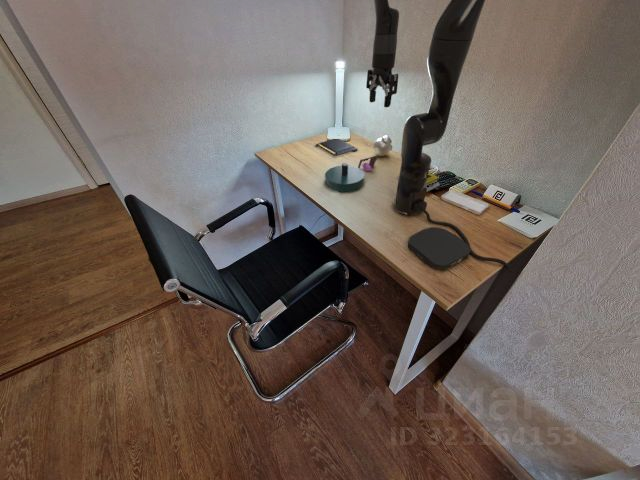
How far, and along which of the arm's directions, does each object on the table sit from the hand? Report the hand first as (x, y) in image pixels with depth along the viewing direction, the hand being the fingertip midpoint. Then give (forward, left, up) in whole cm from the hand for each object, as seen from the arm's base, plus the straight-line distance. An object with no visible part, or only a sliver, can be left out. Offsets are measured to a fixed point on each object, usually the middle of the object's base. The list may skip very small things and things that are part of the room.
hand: (379, 104), depth 97 cm
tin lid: (+3, +13, -26) cm, 30 cm away
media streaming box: (-48, +12, -30) cm, 58 cm away
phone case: (-35, -16, -30) cm, 49 cm away
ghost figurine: (+16, -18, -30) cm, 39 cm away
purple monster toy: (+6, -2, -30) cm, 31 cm away
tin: (+3, +13, -30) cm, 33 cm away
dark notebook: (+38, -4, -30) cm, 49 cm away
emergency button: (-14, -14, -30) cm, 36 cm away
